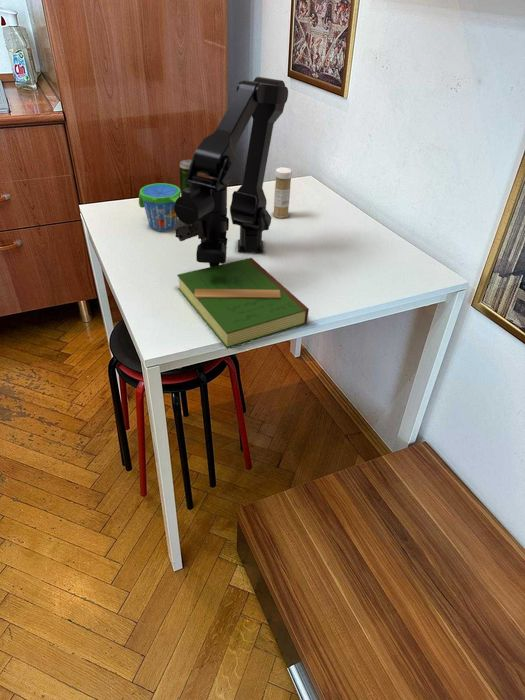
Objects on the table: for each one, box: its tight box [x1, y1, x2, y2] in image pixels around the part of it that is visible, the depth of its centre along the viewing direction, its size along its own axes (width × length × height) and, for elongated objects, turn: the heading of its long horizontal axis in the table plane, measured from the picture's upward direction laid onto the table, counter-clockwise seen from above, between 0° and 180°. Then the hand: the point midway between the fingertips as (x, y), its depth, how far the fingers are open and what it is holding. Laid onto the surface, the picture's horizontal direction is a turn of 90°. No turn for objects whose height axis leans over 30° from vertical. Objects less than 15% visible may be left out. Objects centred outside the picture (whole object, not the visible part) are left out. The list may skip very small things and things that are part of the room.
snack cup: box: [138, 182, 181, 232], centre depth 136 cm, size 16×10×10 cm
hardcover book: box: [177, 257, 310, 349], centre depth 109 cm, size 25×19×4 cm
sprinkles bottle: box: [272, 166, 293, 219], centre depth 144 cm, size 5×5×13 cm
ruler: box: [194, 289, 281, 299], centre depth 106 cm, size 3×18×1 cm, turn 93°
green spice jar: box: [179, 159, 200, 197], centre depth 149 cm, size 5×5×12 cm
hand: (213, 270), depth 118 cm, fingers closed
